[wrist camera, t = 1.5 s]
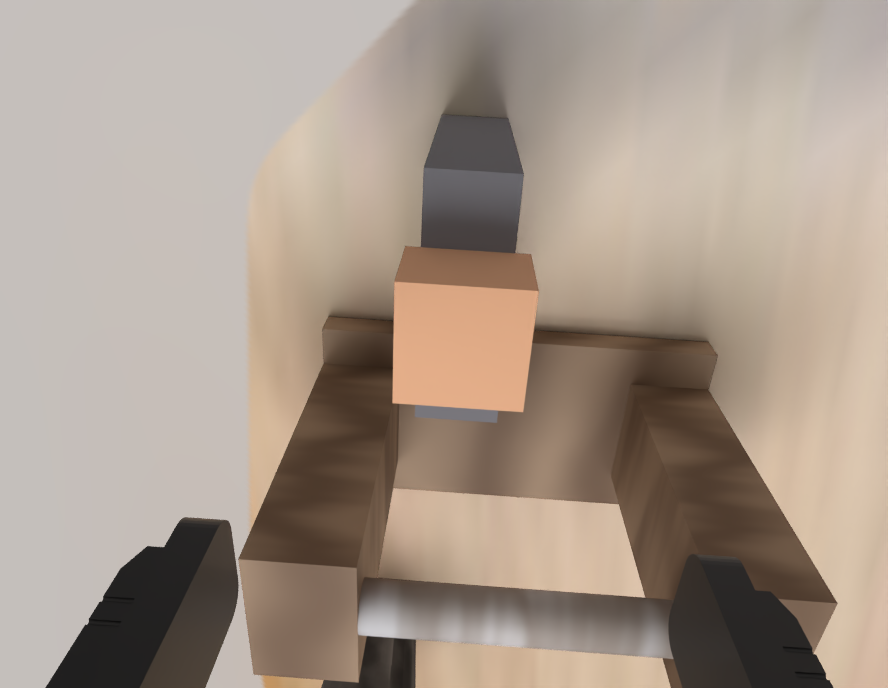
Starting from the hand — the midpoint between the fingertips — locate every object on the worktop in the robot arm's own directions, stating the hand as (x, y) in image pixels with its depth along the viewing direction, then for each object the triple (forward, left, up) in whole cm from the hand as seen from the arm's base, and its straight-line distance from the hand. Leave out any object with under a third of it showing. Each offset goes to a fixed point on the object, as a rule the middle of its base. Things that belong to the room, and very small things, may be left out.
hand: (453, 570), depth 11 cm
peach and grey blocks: (0, 0, -22) cm, 22 cm away
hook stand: (-3, +11, -22) cm, 25 cm away
